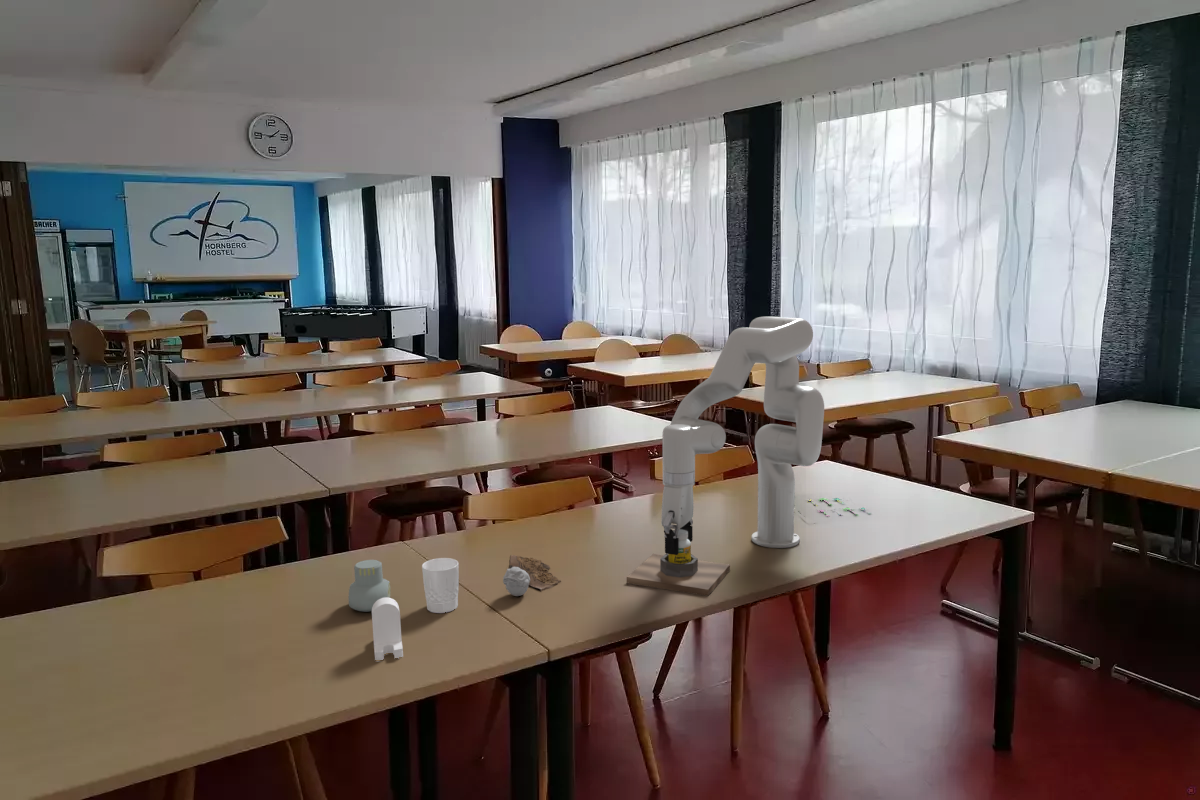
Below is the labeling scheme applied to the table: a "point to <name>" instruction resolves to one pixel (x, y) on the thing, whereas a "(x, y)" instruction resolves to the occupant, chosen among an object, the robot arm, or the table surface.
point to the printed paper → (831, 504)
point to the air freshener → (368, 585)
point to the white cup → (441, 584)
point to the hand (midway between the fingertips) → (679, 547)
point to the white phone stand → (386, 628)
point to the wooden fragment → (535, 572)
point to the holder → (679, 574)
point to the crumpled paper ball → (516, 581)
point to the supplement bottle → (682, 549)
